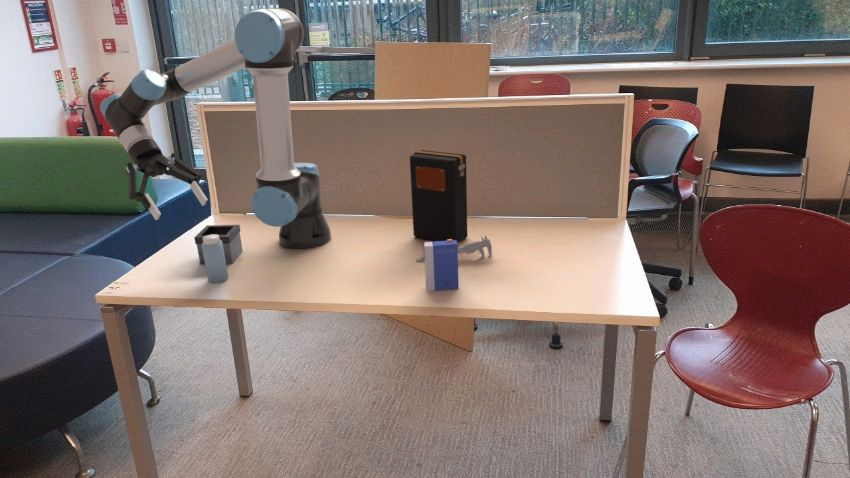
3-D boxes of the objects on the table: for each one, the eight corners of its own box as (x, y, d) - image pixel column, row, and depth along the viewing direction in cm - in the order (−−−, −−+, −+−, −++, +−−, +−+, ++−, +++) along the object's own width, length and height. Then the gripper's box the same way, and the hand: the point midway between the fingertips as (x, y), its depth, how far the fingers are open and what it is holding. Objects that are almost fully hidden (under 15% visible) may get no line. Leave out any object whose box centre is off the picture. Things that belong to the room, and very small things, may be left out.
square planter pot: (243, 250, 181) (239, 224, 178) (233, 263, 172) (228, 236, 169) (211, 251, 181) (206, 225, 179) (199, 264, 173) (194, 237, 170)
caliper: (491, 256, 171) (491, 234, 168) (491, 258, 170) (491, 236, 167) (415, 261, 170) (414, 239, 167) (416, 262, 169) (415, 240, 166)
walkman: (456, 284, 155) (455, 238, 150) (458, 289, 152) (457, 242, 148) (425, 286, 154) (423, 240, 150) (426, 291, 151) (424, 245, 147)
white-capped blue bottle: (230, 274, 165) (223, 233, 161) (224, 282, 161) (217, 240, 156) (212, 275, 166) (204, 233, 161) (205, 283, 161) (197, 241, 157)
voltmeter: (470, 237, 184) (469, 153, 175) (455, 247, 177) (453, 160, 168) (425, 228, 192) (421, 148, 183) (409, 238, 185) (405, 154, 176)
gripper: (179, 145, 179) (218, 205, 176) (91, 165, 161) (133, 231, 158) (186, 129, 174) (227, 189, 171) (97, 147, 156) (140, 215, 153)
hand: (182, 209), depth 164 cm, fingers open, 13 cm apart
